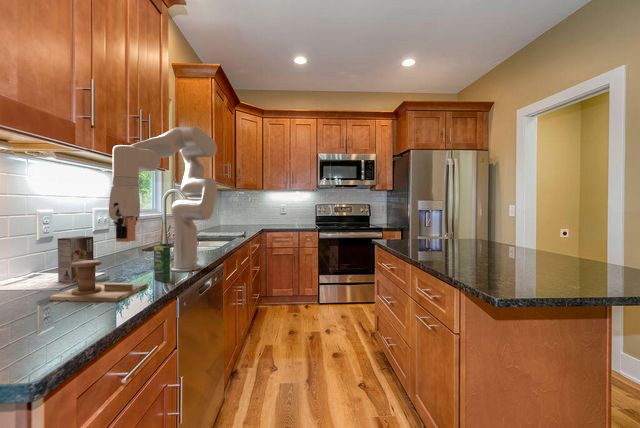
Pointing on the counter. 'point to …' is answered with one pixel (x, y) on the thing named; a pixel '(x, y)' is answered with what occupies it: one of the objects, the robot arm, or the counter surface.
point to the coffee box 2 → (162, 263)
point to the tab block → (129, 230)
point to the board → (103, 292)
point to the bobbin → (86, 277)
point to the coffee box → (73, 256)
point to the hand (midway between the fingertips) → (125, 237)
